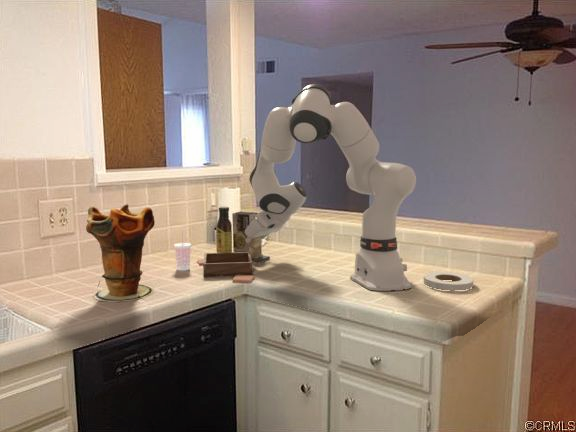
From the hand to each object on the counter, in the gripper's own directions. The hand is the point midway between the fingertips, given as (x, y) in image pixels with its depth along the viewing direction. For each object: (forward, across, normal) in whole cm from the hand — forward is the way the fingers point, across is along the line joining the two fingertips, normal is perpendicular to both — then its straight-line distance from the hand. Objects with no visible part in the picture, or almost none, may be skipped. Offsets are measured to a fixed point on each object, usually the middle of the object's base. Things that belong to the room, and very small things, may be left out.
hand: (254, 239), depth 201 cm
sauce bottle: (+16, +1, -4) cm, 16 cm away
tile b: (-4, +26, +16) cm, 31 cm away
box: (+5, +18, +6) cm, 20 cm away
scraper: (+6, 0, +6) cm, 8 cm away
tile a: (+15, +14, -3) cm, 21 cm away
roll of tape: (-46, -4, +58) cm, 74 cm away
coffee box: (+15, -12, -4) cm, 19 cm away
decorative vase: (+12, +57, 0) cm, 58 cm away
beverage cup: (+15, +25, -4) cm, 30 cm away
